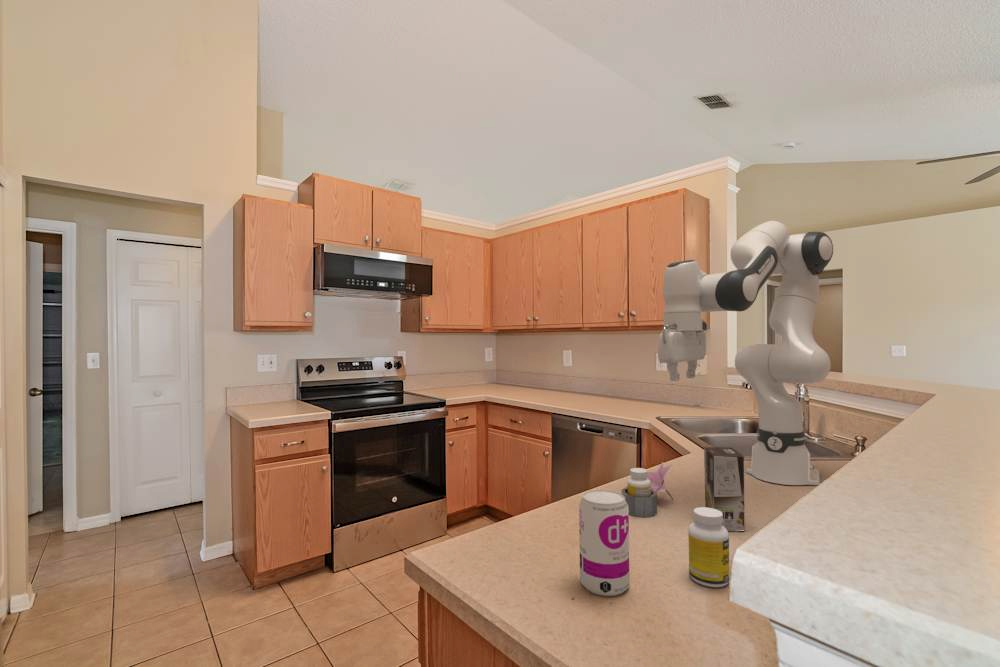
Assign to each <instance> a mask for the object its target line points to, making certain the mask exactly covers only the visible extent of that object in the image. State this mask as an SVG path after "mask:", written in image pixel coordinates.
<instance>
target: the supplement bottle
mask: <svg viewBox="0 0 1000 667" xmlns="http://www.w3.org/2000/svg"><path fill="white" fill-rule="evenodd" d="M647 472H648V469H645V468H642V467H633V468H630V471H629V474H630V477H629V478H628V479H627V487H628V494H629V495H633V496H640V497H645V496H651V482H650V480H649V479H647Z"/></svg>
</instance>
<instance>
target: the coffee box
mask: <svg viewBox="0 0 1000 667" xmlns="http://www.w3.org/2000/svg"><path fill="white" fill-rule="evenodd" d="M703 448H704V450H703V452H704V453H703V457H704V459H703V460H704V464H703V465H704V498H705V499H704V501H705V502H704V504H705V506H704V507H707V508H713V509H716V510H719V511H721V512H722V513H723V522H722V523H721V525H722V526H723V527H725V528H726V530H727V531H728V532H737V531H736V530H744V531H745V456H744V455H742V454H741V453H740V452H738V451H737V450H736V449H734V448H733V447H724V446H720V447H719V446H714V447H710V446H709V447H707V446H705V447H703Z"/></svg>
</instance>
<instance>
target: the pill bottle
mask: <svg viewBox="0 0 1000 667" xmlns="http://www.w3.org/2000/svg"><path fill="white" fill-rule="evenodd" d="M693 520H694V522H692V523H691V524H690V525H689V527H688V529H687V532H688V574H689V576H690V578H691V579H692V580H693V581H694V582H695V583H698V584H700V585H702V586H704V587H709V588H721V587H724V586H726V585H728V584H729V582H730V577H729V576H730V534H729V531H727V530H726V528H725V527H723V526H722V525H721V523H722V522H723V513H722V512H721V511H719V510H716V509H713V508H707V507H705V506H701V507H696V508H694V509H693Z"/></svg>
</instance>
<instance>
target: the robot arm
mask: <svg viewBox="0 0 1000 667" xmlns="http://www.w3.org/2000/svg"><path fill="white" fill-rule="evenodd" d="M730 248H731V249H730V259H731V262H732V265H733V266H734V267H735V268H736V269H734V270H731V271H726V272H725V271H724V272H718V273H711V274H709V273H706V272H704V270H702V269H701V268H699V263H698V261H697V260H695V259H687V260H683V261H682V260H681V261H676V262H675V261H674V262H671V263H669V264H668V265H666V267H665V269H664V274H663V285H662V286H663V287H662V288H663V289H662V292H663V293H662V294H663V300H664V309H663V329H662V330H661V331H662V332H661V333H660V334H659V338H658V348H657V349H658V351H657V352H658V354H657V357H658V361H659V363H662V364H663V363H664V364H666V368H667V371H668V372H669V380H670V382H677V381H680V373H679V370H678V367H679V363H683V362H687V370H685V374H686V375H685V376H686V378H687V379H695V378H696V370H697V367H698V361H700V360H705V356H706V354H707V352H706V351H707V334H706V332H707V331H708V330H709V329H708V328H709V327H708V323H707V322H706V321H705V320H704V319H703V317H702V313H706V312H710V313H712V312H713V313H714V312H726V311H727V312H745V311H747V310H748V309H749V308H751V307H752V305H754V303H755V301H756V299H757V297H758V294H759V291H760V290H761V288H763V286H764V285H765V283H766V282H767V280H768V279H769V278H770V276H771V275H781V278H782V280H781V282H780V284H779V286H778V288H777V290H776V293H775V296H774V300H773V303H772V308H771V311H770V314H769V318H768V323H769V326H770V329H771V330H772V331H773V332H775V333H776V334H778V335H779V336H781V342H780V343H777V344H776V343H773V344H771V343H769V344H767V343H766V344H765V343H759V344H758V343H757V344H751V345H746V346H743V347H741V348H739V350H738V351H737V352H736V355H735V357H734V367H735V370H736V371H737V372H738V374H739V375H740V376H741V377H742V378H744V379H745V380H746V382H747V383H748V384H749V386H750V387H751V389H752V391H753V393H754V396H755V398H756V403H757V410H758V412H757V413H758V427H757V430H756V437H757V442H756V443H755V444H754V445H752V446H751V447H752V448H751V465H750V467H747V468H746V469H745V473H747V474H749V475H752V476H753V477H755V478H756V479H758V480H761V481H764V482H767V483H768V482H769V483H772V484H777V485H787V486H805V485H808V486H809V485H810V486H819V484H820V485H821V481H820V480H821V479H820V478H821V477H820V469H819V468H815V466H814V465H812V464H811V453H810V451H809V449H808V447H807V446H806V434H805V429H804V424H803V423H804V422H803V421H804V418H803V414H804V413H803V412H804V410H803V405H802V403H801V401H800V400H799V399H797V398H796V397H794V396H793V395H791V394H790V393H789V392H788V391H787V389H786V388H785V385H784V383H787V384H802V385H803V384H812V383H813V384H814V383H820V382H823V381H825V379H826V378H827V377H828V375H829V373H830V371H831V367H832V364H831V358H830V356H829V354H828V353H827V351H825V349H824V348H822V347H821V346H819V344H818V343H817V342H816V340H815V338H814V333H813V326H814V320H815V314H816V310H817V305H818V301H819V294H820V278H819V276H818V275H821V273H822V272H823V271H824V270H825V268H826V267H827V266H828V264H829V263H830V262H831V260H832V258H833V255H834V244H833V240H832V239H831V237H830V236H829V235H828V234H826V232H823V231H808V232H805V233H803V232H802V233H796V234H790V231H789V228H788V227H787V226H786V225H785V224H784V223H782V222H780V221H777V220H767V221H764V222H762V223H760V224H758V225H756V226H754V227H753V228H751V229H750V230H748V231H747V232H745V233H744V234H743V235H741V236H740V237H739V238H738V239H737V240H736V241H735V242H734V243H733V245H732V247H730Z"/></svg>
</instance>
